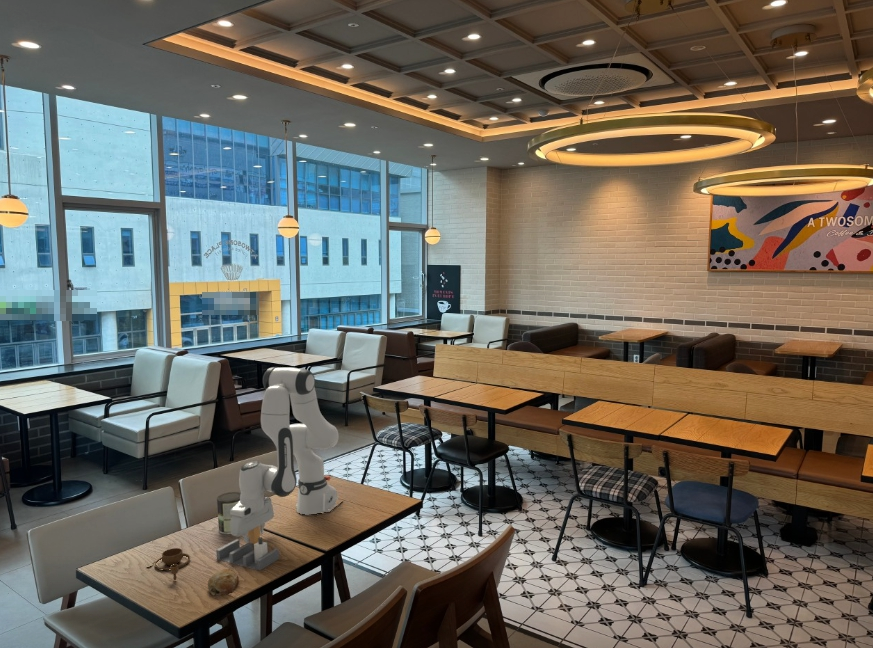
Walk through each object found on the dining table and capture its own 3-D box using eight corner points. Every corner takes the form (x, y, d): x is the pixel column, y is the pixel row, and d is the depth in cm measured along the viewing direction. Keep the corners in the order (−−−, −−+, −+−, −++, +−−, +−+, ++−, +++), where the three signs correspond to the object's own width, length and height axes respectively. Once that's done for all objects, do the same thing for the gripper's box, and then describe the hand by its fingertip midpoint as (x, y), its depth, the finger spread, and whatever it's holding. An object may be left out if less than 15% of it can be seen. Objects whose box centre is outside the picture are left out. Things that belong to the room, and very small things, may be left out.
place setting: (203, 557, 230) (202, 542, 229) (178, 584, 210) (177, 567, 210) (158, 557, 231) (157, 542, 230) (129, 584, 211) (128, 567, 210)
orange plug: (253, 541, 241) (252, 519, 241) (260, 543, 240) (259, 521, 239) (247, 544, 239) (246, 522, 238) (254, 546, 237) (253, 524, 236)
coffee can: (213, 533, 250) (211, 499, 249) (228, 523, 260) (226, 491, 259) (234, 535, 248) (233, 501, 246) (249, 525, 258) (247, 492, 256)
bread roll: (205, 602, 204) (199, 587, 200) (218, 576, 212) (212, 560, 209) (233, 604, 202) (227, 588, 198) (245, 577, 211) (240, 562, 207)
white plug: (260, 559, 224) (259, 535, 223) (267, 561, 222) (266, 537, 222) (254, 562, 221) (253, 538, 220) (262, 564, 220) (261, 540, 219)
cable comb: (237, 550, 234) (236, 539, 234) (279, 561, 224) (278, 549, 224) (216, 561, 225) (216, 549, 225) (260, 573, 216) (259, 560, 215)
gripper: (264, 494, 249) (266, 526, 250) (226, 512, 230) (228, 547, 231) (276, 496, 246) (278, 529, 247) (239, 514, 227) (241, 550, 229)
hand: (253, 538), depth 239 cm, fingers open, 5 cm apart
